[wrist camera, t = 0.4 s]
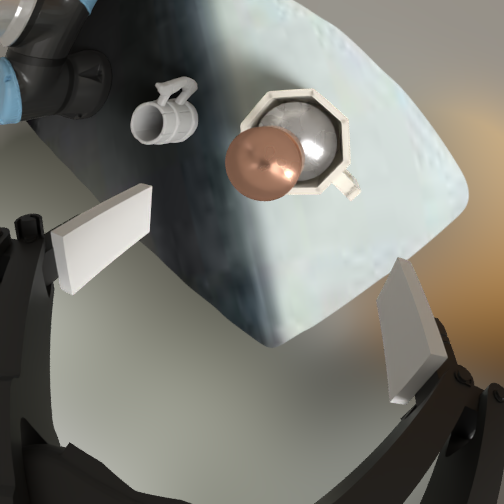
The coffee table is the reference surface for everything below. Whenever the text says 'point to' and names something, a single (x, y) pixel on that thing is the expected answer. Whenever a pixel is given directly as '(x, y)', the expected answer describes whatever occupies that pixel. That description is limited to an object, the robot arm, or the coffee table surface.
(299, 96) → the octagonal white cup
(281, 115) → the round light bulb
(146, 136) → the mug
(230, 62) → the coffee table surface
